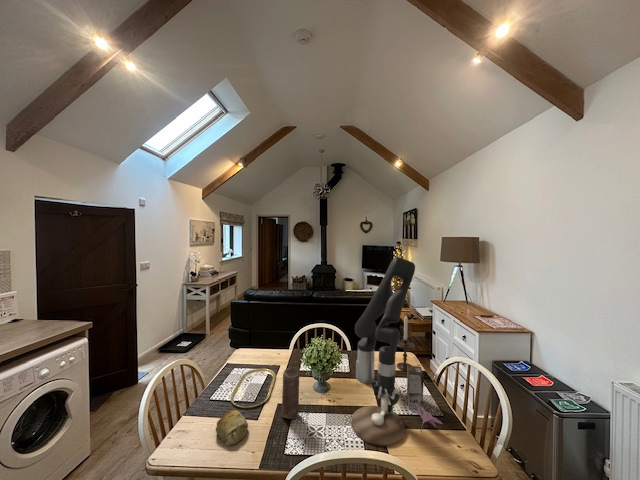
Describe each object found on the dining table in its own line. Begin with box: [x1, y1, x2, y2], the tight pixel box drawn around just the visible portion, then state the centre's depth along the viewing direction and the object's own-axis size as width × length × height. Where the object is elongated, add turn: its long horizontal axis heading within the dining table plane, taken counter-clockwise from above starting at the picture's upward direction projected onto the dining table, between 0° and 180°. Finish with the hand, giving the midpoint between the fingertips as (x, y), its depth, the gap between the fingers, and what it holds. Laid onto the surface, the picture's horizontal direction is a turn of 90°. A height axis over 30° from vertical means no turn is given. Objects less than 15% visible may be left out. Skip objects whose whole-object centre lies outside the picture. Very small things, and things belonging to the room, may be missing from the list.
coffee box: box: [406, 365, 425, 410], centre depth 134 cm, size 9×6×16 cm
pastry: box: [215, 409, 249, 447], centre depth 113 cm, size 14×12×8 cm
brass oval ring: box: [230, 368, 276, 409], centre depth 146 cm, size 19×35×2 cm, turn 179°
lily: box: [411, 403, 444, 433], centre depth 117 cm, size 12×12×10 cm
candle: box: [281, 367, 300, 420], centre depth 124 cm, size 8×7×20 cm
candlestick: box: [396, 309, 416, 372], centre depth 168 cm, size 11×11×35 cm
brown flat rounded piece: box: [350, 405, 406, 447], centre depth 118 cm, size 22×22×2 cm
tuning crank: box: [372, 394, 389, 426], centre depth 121 cm, size 12×5×6 cm, turn 144°
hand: (385, 408), depth 124 cm, fingers closed on tuning crank, 4 cm apart
